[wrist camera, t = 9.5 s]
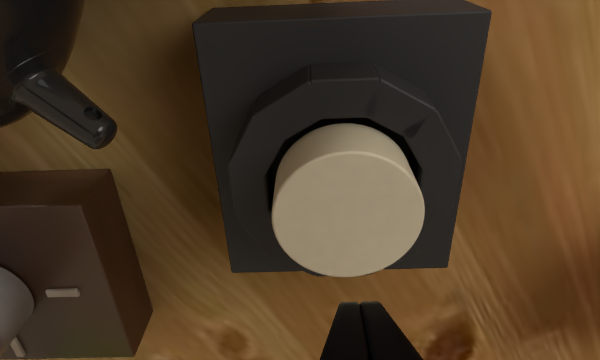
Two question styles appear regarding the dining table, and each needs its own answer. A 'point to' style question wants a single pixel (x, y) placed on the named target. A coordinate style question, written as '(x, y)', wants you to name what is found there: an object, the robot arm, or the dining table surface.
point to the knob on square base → (338, 104)
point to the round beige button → (346, 201)
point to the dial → (13, 307)
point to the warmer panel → (72, 265)
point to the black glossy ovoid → (46, 70)
